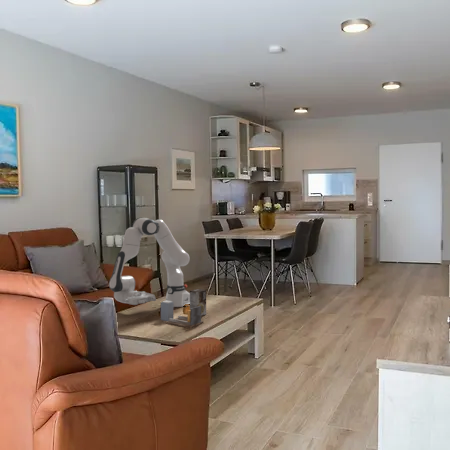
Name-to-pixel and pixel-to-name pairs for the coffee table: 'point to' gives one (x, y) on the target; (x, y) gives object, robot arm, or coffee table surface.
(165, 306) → the block
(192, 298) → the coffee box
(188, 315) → the latch clip
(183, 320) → the rail dock
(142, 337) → the coffee table surface
